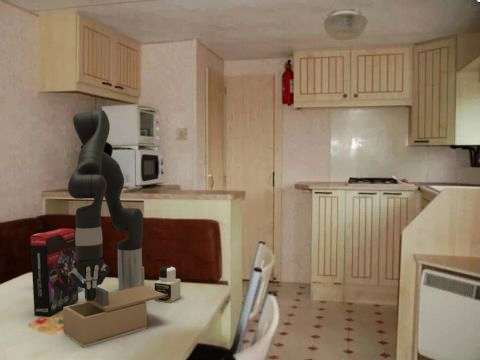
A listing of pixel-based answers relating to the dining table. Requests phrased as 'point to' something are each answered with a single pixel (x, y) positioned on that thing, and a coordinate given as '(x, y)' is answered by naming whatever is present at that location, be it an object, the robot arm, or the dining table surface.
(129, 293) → the lid
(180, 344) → the dining table surface
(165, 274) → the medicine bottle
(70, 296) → the graphics card box
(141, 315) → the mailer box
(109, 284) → the dining table surface
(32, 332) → the dining table surface
